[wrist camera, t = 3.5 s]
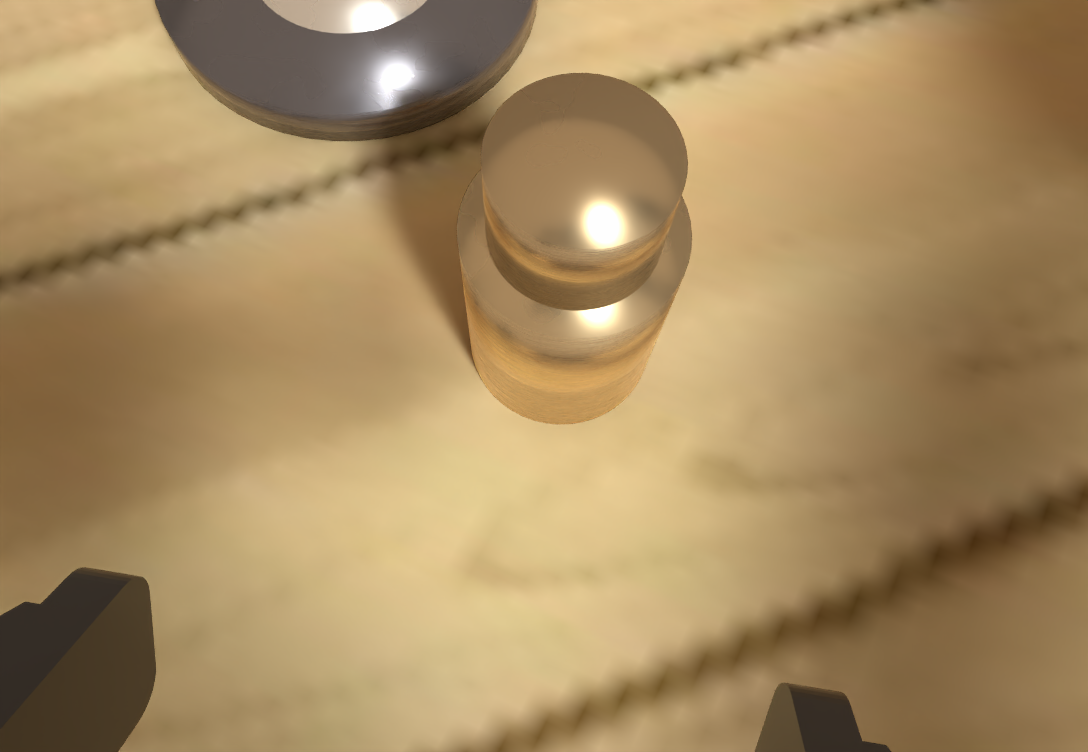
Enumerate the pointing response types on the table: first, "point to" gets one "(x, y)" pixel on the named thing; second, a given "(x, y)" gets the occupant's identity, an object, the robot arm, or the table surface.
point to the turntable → (348, 59)
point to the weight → (573, 244)
